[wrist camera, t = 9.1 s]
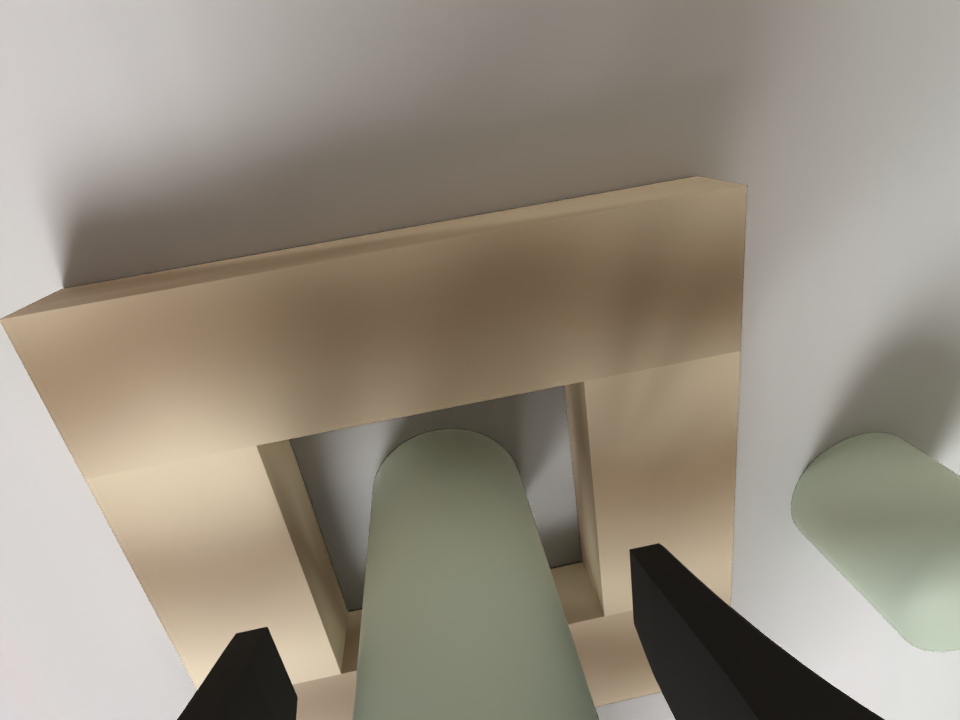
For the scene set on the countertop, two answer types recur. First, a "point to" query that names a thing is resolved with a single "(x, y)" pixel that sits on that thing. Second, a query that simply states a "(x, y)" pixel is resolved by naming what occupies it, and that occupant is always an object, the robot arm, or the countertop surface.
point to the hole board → (407, 406)
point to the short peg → (889, 532)
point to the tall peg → (461, 593)
